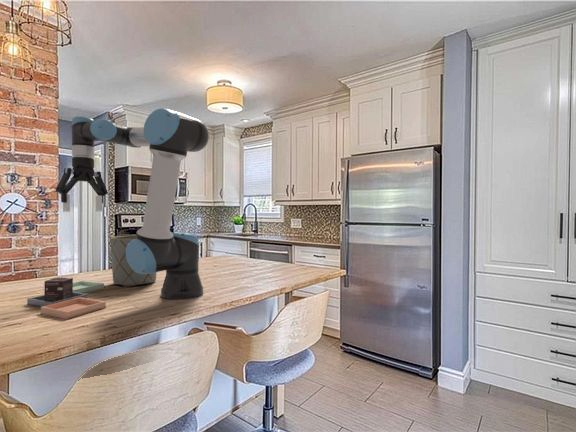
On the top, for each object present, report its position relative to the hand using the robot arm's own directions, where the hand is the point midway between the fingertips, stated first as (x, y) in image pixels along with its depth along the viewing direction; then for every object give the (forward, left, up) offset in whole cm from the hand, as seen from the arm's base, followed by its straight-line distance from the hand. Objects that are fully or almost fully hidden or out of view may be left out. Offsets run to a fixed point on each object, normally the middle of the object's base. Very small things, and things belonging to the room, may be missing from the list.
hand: (83, 211), depth 132 cm
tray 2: (0, +2, -31) cm, 31 cm away
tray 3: (-24, +20, -31) cm, 44 cm away
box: (-10, +16, -31) cm, 36 cm away
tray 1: (-10, +16, -31) cm, 36 cm away
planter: (-9, -17, -31) cm, 37 cm away
